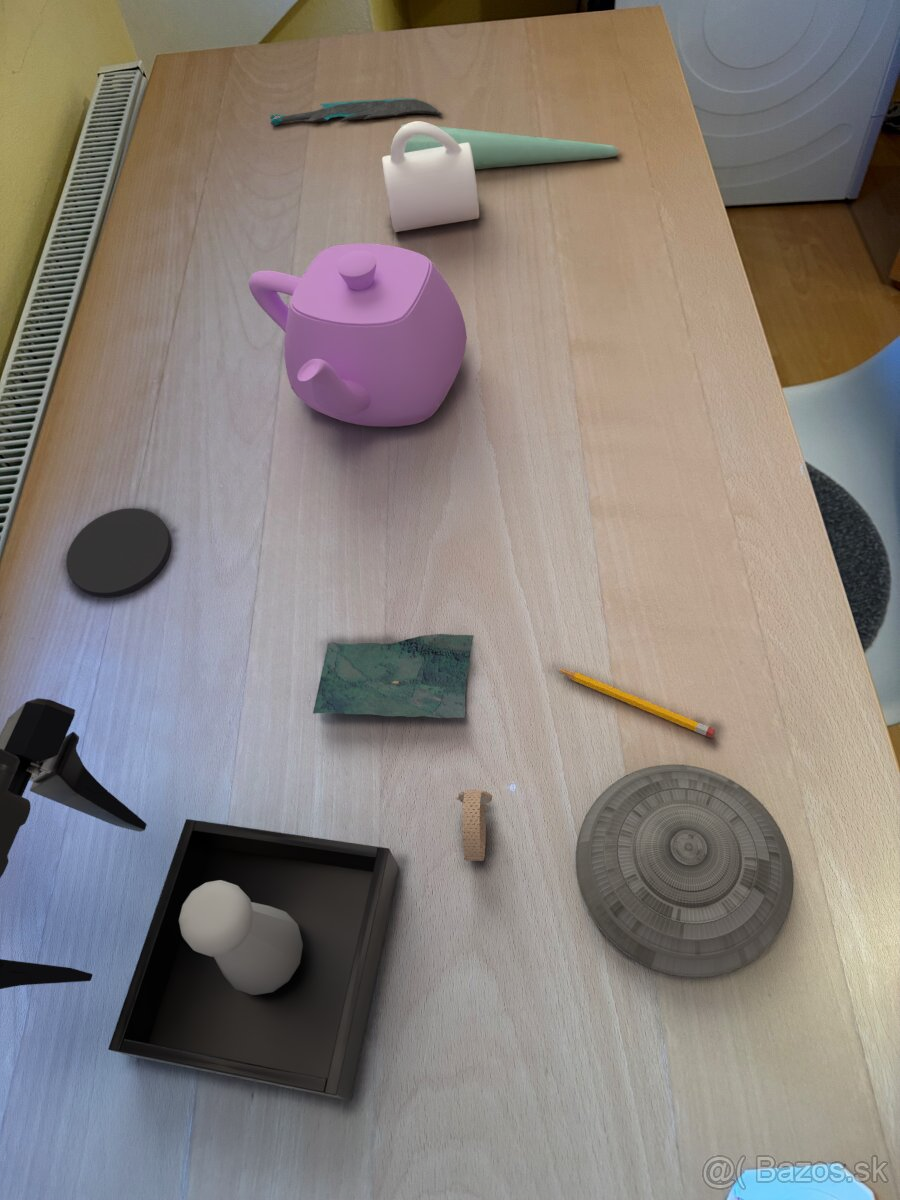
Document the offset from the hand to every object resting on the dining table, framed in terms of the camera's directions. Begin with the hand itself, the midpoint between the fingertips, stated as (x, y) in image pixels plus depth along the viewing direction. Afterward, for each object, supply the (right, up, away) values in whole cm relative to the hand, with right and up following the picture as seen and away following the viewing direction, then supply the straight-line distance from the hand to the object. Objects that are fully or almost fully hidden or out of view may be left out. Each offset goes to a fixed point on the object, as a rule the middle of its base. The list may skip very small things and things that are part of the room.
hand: (118, 899), depth 56 cm
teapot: (+14, +41, +39) cm, 59 cm away
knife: (+8, +86, +69) cm, 111 cm away
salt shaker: (+8, -7, +9) cm, 14 cm away
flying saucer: (+37, -1, +9) cm, 38 cm away
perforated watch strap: (+23, +1, +12) cm, 26 cm away
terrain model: (+16, +12, +20) cm, 28 cm away
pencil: (+35, +10, +16) cm, 40 cm away
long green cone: (+28, +74, +59) cm, 99 cm away
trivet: (-11, +23, +31) cm, 40 cm away
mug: (+19, +65, +54) cm, 87 cm away
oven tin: (+8, -7, +9) cm, 14 cm away
